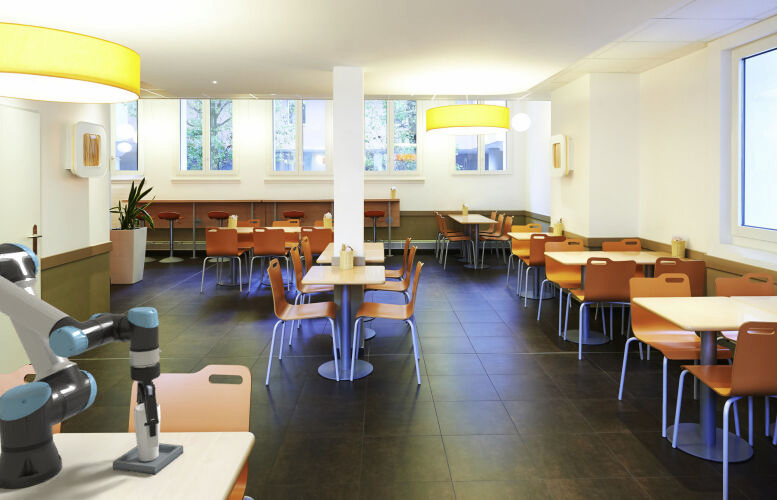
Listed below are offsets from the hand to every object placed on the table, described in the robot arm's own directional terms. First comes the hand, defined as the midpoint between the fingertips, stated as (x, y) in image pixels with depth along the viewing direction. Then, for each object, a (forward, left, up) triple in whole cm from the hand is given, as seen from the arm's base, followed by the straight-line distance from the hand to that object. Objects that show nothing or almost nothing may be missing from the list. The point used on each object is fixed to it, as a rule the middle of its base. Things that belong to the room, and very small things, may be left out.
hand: (148, 437), depth 154 cm
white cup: (0, 0, -6) cm, 6 cm away
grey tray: (0, 0, -7) cm, 7 cm away
